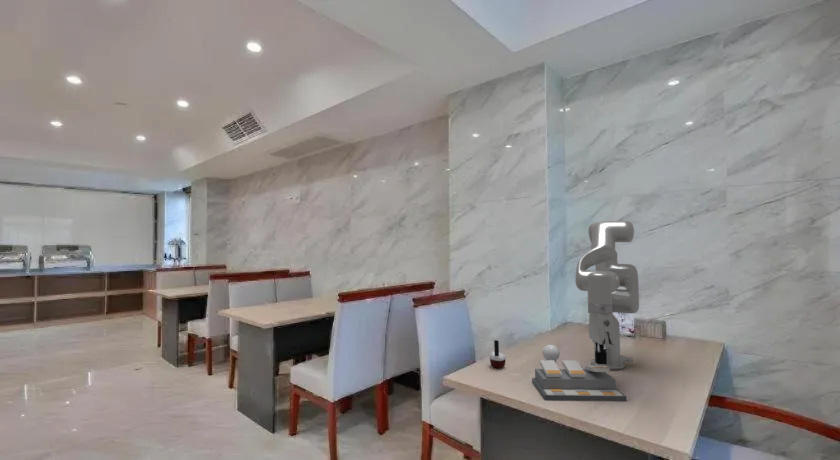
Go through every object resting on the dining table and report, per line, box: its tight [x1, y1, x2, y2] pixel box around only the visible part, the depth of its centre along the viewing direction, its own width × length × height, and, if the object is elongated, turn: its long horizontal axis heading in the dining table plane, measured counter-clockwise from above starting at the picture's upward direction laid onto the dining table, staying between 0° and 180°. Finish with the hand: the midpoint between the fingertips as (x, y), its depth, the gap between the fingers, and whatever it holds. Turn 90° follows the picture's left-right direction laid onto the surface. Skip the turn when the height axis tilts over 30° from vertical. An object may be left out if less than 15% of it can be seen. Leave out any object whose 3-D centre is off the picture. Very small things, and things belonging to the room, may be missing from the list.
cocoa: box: [489, 339, 507, 370], centre depth 156 cm, size 10×6×12 cm, turn 142°
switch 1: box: [539, 359, 562, 377], centre depth 134 cm, size 5×9×1 cm, turn 178°
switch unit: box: [531, 368, 627, 402], centre depth 131 cm, size 26×16×5 cm, turn 88°
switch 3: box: [583, 364, 611, 373], centre depth 133 cm, size 5×9×1 cm, turn 178°
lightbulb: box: [542, 344, 560, 364], centre depth 149 cm, size 6×6×11 cm
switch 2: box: [561, 359, 586, 377], centre depth 133 cm, size 5×9×1 cm, turn 178°
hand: (600, 363), depth 129 cm, fingers closed
